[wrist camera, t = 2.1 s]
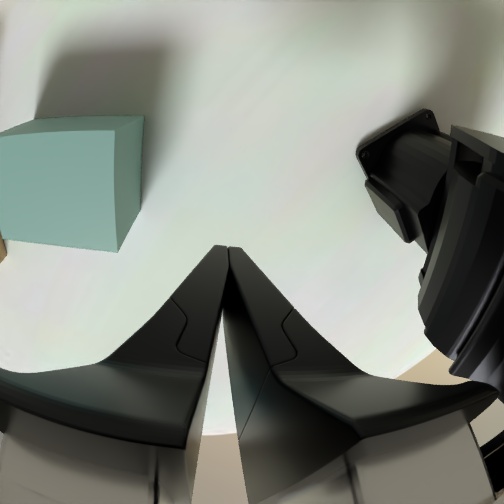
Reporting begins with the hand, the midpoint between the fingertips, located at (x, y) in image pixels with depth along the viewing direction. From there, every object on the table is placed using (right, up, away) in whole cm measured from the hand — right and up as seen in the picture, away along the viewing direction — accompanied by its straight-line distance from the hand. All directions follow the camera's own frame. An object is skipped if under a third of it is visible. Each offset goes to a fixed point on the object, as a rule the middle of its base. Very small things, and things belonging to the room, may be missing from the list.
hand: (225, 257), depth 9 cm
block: (-10, +6, +6) cm, 13 cm away
